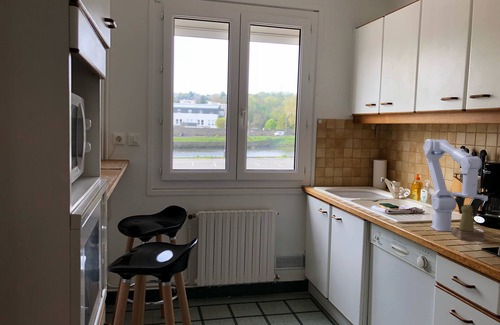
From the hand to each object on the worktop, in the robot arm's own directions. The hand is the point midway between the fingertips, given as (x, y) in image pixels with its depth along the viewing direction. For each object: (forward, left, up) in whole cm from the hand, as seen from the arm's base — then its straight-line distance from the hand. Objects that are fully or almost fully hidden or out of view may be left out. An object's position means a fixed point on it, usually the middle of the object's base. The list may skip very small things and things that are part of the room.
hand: (467, 214), depth 188 cm
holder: (0, +1, -10) cm, 10 cm away
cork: (+1, -1, -7) cm, 7 cm away
